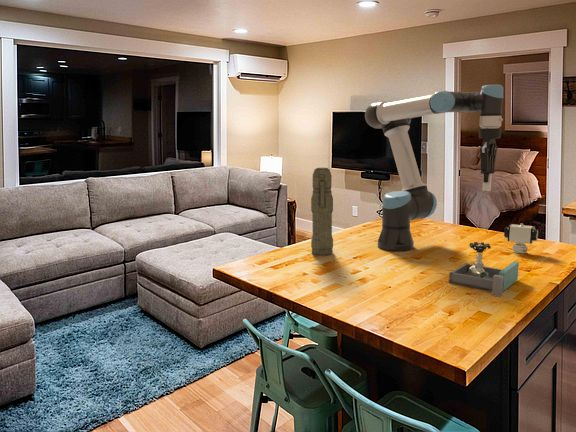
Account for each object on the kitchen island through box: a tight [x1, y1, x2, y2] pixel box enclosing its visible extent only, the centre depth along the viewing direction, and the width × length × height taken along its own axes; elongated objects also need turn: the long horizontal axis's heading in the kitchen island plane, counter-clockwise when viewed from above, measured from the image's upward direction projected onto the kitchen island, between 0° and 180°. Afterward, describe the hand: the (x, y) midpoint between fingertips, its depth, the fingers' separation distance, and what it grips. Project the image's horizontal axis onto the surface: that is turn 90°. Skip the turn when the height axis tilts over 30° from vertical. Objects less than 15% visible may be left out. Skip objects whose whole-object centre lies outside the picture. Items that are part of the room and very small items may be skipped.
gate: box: [499, 261, 520, 292], centre depth 157 cm, size 2×15×6 cm, turn 140°
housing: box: [448, 262, 503, 297], centre depth 159 cm, size 17×17×6 cm
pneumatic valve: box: [503, 223, 539, 255], centre depth 196 cm, size 6×12×12 cm, turn 55°
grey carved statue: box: [310, 167, 334, 257], centre depth 197 cm, size 9×12×35 cm
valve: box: [469, 241, 492, 279], centre depth 161 cm, size 7×7×12 cm
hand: (486, 190), depth 185 cm, fingers closed
